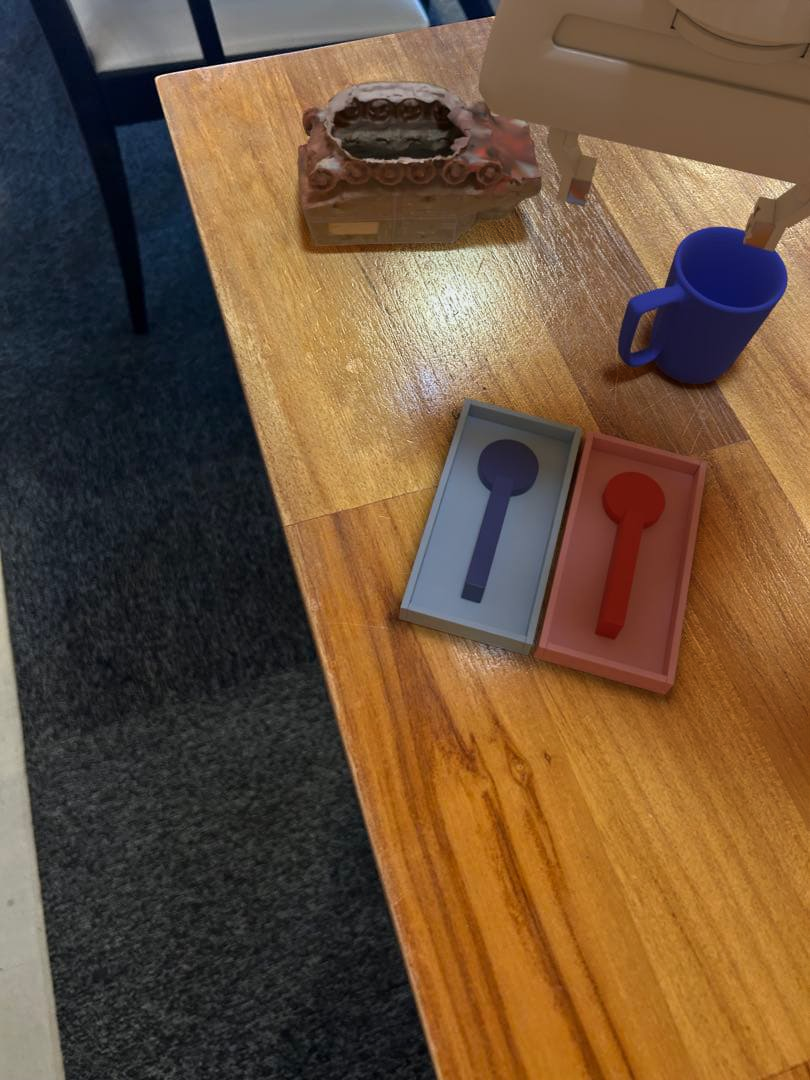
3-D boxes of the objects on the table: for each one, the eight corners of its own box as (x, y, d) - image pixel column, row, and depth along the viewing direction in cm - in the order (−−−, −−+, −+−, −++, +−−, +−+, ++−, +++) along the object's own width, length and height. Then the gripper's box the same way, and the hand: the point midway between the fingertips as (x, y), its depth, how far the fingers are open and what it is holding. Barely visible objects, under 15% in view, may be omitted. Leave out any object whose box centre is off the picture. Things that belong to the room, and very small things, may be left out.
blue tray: (576, 443, 72) (582, 428, 71) (527, 656, 64) (532, 644, 62) (462, 412, 73) (465, 397, 71) (398, 619, 65) (400, 607, 63)
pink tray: (698, 475, 72) (707, 461, 70) (664, 695, 63) (673, 685, 61) (582, 444, 72) (588, 429, 71) (533, 657, 64) (538, 646, 62)
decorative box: (303, 147, 86) (299, 47, 77) (523, 161, 87) (544, 64, 78) (292, 255, 80) (287, 159, 71) (530, 269, 80) (553, 177, 72)
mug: (577, 345, 77) (608, 254, 68) (703, 306, 80) (748, 214, 71) (627, 423, 74) (666, 339, 65) (756, 379, 76) (811, 292, 68)
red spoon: (636, 646, 64) (646, 633, 62) (573, 628, 65) (581, 614, 62) (665, 487, 70) (675, 470, 68) (607, 471, 71) (616, 453, 69)
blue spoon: (501, 610, 65) (507, 595, 63) (439, 592, 65) (443, 576, 63) (542, 455, 71) (548, 437, 69) (485, 439, 71) (489, 421, 69)
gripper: (484, -84, 35) (448, 211, 47) (1054, 38, 33) (863, 312, 45) (520, -168, 38) (477, 130, 50) (1045, -60, 36) (868, 221, 48)
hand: (664, 217), depth 48 cm, fingers open, 8 cm apart
